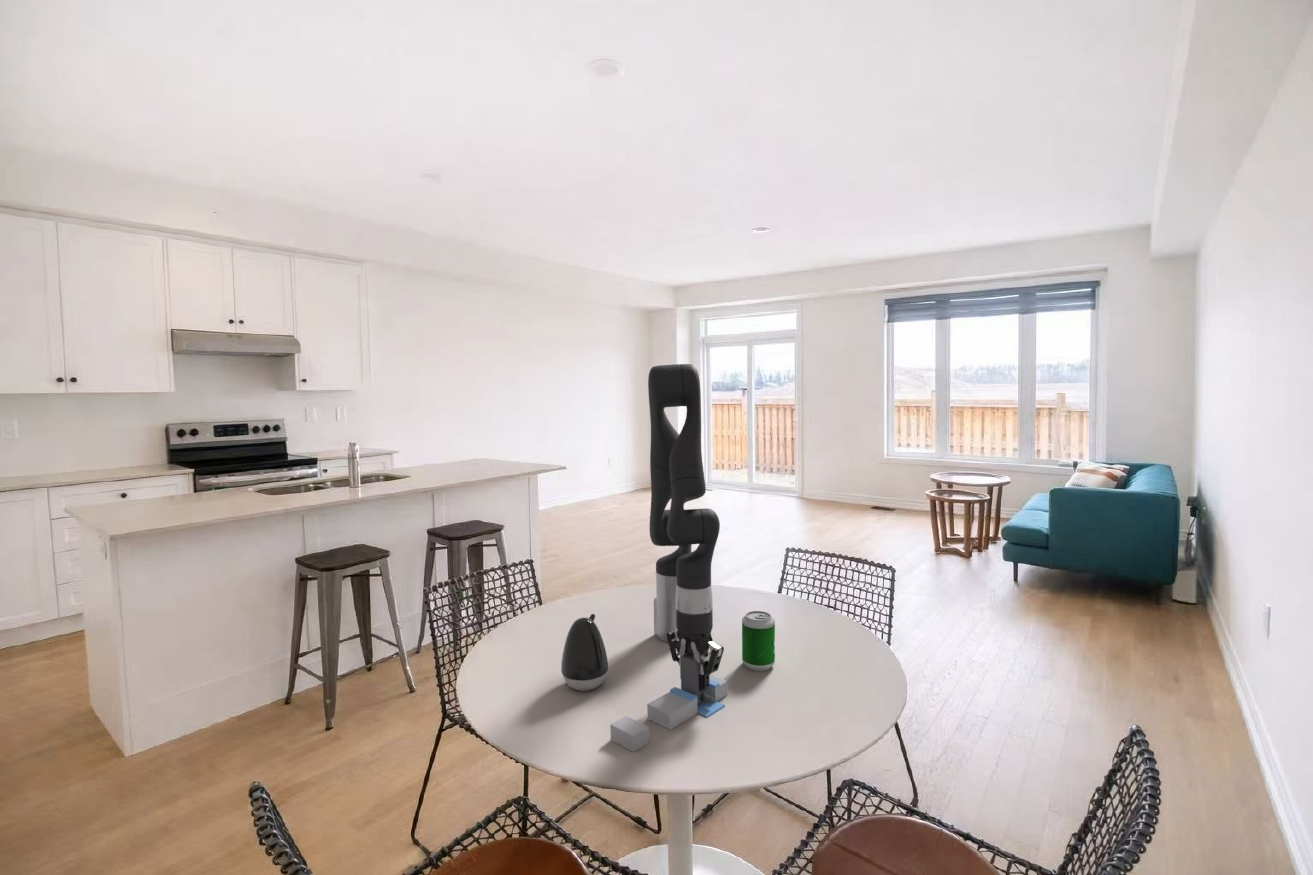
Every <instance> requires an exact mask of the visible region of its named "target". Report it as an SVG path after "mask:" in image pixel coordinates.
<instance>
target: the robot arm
mask: <svg viewBox="0 0 1313 875" xmlns="http://www.w3.org/2000/svg"><path fill="white" fill-rule="evenodd" d="M699 376H700V375H699V371H698V369H697V367H696V366H695V365H694V364H692V363H680V364H679V363H677V364H660V365H656V366H653V367H651V368H650V371H649V373H648V377H647V378H648V381H647V383H648V384H647V388H648V403H649V417H650V418H649V419H650V449H649V451H650V455H649V463H650V465H649V469H650V471H649V472H650V489H651V490H650V491H651V494H650V497H651V499H650V510H649V512H650V513H649V514H650V515H649V537H650V541H651V543H652V544H653V545H654V546H658V547H675V546H676V547H678V548H677V549H675V550H674V551H673V552H670V553H669V554H667V555H665V556H661V557H659V558H658V559H657V561H656V562H655V585H656V588H655V589H656V590H655V591H656V597H655V598H654V599H653V635H655V636H657V637H656V638H658V640H660V641H661V642H662V641H663V642H667V643H668V647H669V650H670V651H669V652H670V655H671V659H672V661H673V662H676V663H678V666H679V667H680V668H679V672H680V674H679V675H680V679H681V656H685V655H687V654H692V655H693V656H694V658H695V661H697V663H698V669H699V673H700V674H699V691H701V692H703V691H705V690H707V689H708V688H709V686H710V683H709V682H710V681H709V680H710V679H709V675H712V674H713V673H715V672H717V671H718V670H719V669H720V668H719V667H720V663H721V661H722V658H723V654H724V651H725V648H724V646H723V645H721V644H720V645H717V644H716V643H715V642H714V640H713V638H712V630H713V622H714V621H713V618H714V615H713V609H714V608H713V607H714V606H713V600H714V599H713V589H712V562H713V561H712V560H713V556H714V553H715V548H716V545H717V541H718V537H719V533H720V527H721V525H720V519H719V516H718V514H717V513H716V511H714V510H713V509H712V508H705V507H704V508H692V509H691V508H690V509H685V508H684V507H685V503H688V502H691V501H694V500H697V499H701V498H703V497H704V496H705V494H706V492H707V491H706V480H705V473H704V465H703V464H704V463H703V455H702V454H703V453H702V405H701V404H702V402H701V401H702V398H701V397H702V396H701V381H700V377H699ZM677 407H686V414H685V415H686V416H685V419H684V423H683V426H682V428H681V431H680V433H678V431H677V430H676V429H675V428H674V426H673V425H672V423H671V422H670V420H669V418H668V417H667V414H666V412H665V409H666V408H677ZM669 502H670V506H669V509H666V507H667V506H668V504H669ZM693 545H698V546H697V548H696V549H695V550H693V551H692V546H693ZM702 655H703V656H702ZM700 656H702V657H700ZM703 663H704V664H703ZM704 665H705V667H704Z"/></svg>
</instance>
